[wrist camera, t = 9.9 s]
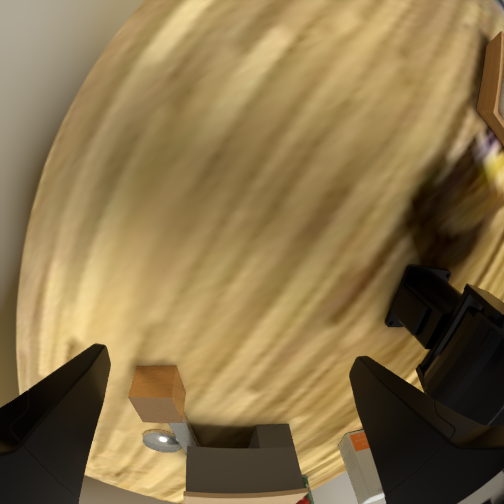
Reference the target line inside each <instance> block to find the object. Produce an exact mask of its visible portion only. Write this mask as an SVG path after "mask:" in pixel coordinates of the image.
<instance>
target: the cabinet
mask: <svg viewBox="0 0 504 504" xmlns="http://www.w3.org/2000/svg"><path fill="white" fill-rule="evenodd" d="M307 493H308V488H305V486H304V483H303V479H302V475H301V471H300V467H299V463H298V459H297V455H296V451H295V447H294V443H293V439H292V435H291V431H290V427H289V424H278V425H256V428H255V430H254V433H253V436H252V439H251V441H250V444H249V447H248V449H234V448H209V447H195V446H187V460H186V491H184V504H296V503H297V502H298V501H299V500H300V499H302V498H303V497H304V496H305V495H306V494H307Z"/></svg>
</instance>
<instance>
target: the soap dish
mask: <svg viewBox="0 0 504 504" xmlns="http://www.w3.org/2000/svg"><path fill="white" fill-rule="evenodd" d="M476 110H477V111H478V112H479V114H480V115H481V116H482V118H483V119H484V120H485V121H486V123H487V124H488V125H489V127H490V128H491V129H492V131H493V132H494V133H495V135H496V136H497V138H498V139H499V140H500V142H501V143H502V145H503V146H504V33H503V32H502V31H501V32H500V33H499V34H498V35H497V36H496V37H495V38H494V39H493V40H492V41H491V42H490V43H489V44H488V45H487V46H486V54H485V63H484V70H483V76H482V82H481V88H480V93H479V98H478V103H477V107H476Z"/></svg>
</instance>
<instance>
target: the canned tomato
mask: <svg viewBox="0 0 504 504" xmlns="http://www.w3.org/2000/svg"><path fill="white" fill-rule="evenodd" d="M302 479H303V483H304V486H305V488H308V493H307V494H306V495H305V496H304V497H303V498H302V499H300V500H299V501H298V502H297V503H296V504H314V501H313V498H312V494H311V490H310V487H309V483H308V480H307V479H308V478H307V477H306V476H304V475H302Z"/></svg>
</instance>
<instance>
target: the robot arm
mask: <svg viewBox="0 0 504 504" xmlns="http://www.w3.org/2000/svg"><path fill="white" fill-rule="evenodd" d="M411 269H412V270H411ZM410 270H411V271H410ZM450 276H451V272H450V271H449V270H447V269H440V268H433V267H426V266H419V265H412V264H411V265H408V266H407V268H406V270H405V273H404V276H403V279H402V281H401V284H400V287H399V289H398V292H397V294H396V297H395V299H394V302H393V304H392V307H391V309H390V311H389V314H388V316H387V318H386V321H385V324H386V325H387V326H388V327H405V328H406V329H407V330H408V331H409V332H410V333H411V335H413V336H414V337H415V338H416V339H417V340H418V341H419V342H420V344H421V345H422V346H423V347H424V348H425V349H428V350H429V352H428V353H427V355H426V356H425V358H424V359H423V361H422V362H421V363H420V364H419V365H418V366H417V368H416V372H417V374H418V377H419V380H420V382H421V385H422V388H423V390H424V393H423V392H422V391H420V390H419V389H417V388H416V387H414V386H413V385H411V384H409V383H408V382H406V381H405V380H403V379H402V378H400V377H399V376H397V375H396V374H394V373H393V372H391V371H389V370H388V369H386V368H385V367H383V366H382V365H380V364H379V363H377V362H376V361H374V360H373V359H371V358H370V357H368V356H359V357H357V358H356V359H355V361H354V364H353V366H352V368H351V370H350V374H349V377H350V382H351V386H352V391H353V395H354V399H355V404H356V408H357V411H358V415H359V417H360V420H361V423H362V426H363V429H364V432H365V435H366V438H367V441H368V444H369V447H370V450H371V454H372V457H373V460H374V463H375V466H376V469H377V473H378V476H379V479H380V483H381V486H382V489H383V493H384V495H385V496H384V497H385V500H386V504H504V303H503V302H502V301H501V300H499V299H498V298H496V297H495V296H493V295H492V294H491V293H489V292H487V291H485V290H482V289H480V288H477V287H475V286H472V285H470V284H466V286H465V288H464V292H463V294H462V293H460V292H459V291H458V290H456V289H455V288H454V287H453V286H451V285H450V284H449V283H448V281H449V278H450ZM390 321H391V322H390ZM110 367H111V363H110V358H109V354H108V350H107V347H106V346H105V345H103V344H97V343H95V344H93V345H92V346H90V347H89V348H87V349H86V350H84V351H83V352H82V353H80V354H79V355H77V356H76V357H74V358H73V359H71V360H70V361H69V362H67V363H66V364H64V365H63V366H61V367H60V368H58V369H57V370H56V371H54V372H53V373H51V374H50V375H48V376H47V377H46V378H44V379H43V380H41V381H40V382H38V383H37V384H36V385H34V386H33V387H31V388H30V389H29V391H28V390H27V391H25V392H24V393H23V394H21V395H20V396H18V397H17V398H15V399H14V400H12V401H11V402H9V403H7V404H6V405H4V406H2V407H1V408H0V504H79V497H80V492H81V487H82V482H83V478H84V473H85V469H86V464H87V460H88V456H89V452H90V448H91V444H92V441H93V437H94V433H95V430H96V426H97V423H98V419H99V416H100V413H101V410H102V406H103V402H104V397H105V392H106V387H107V382H108V377H109V372H110Z"/></svg>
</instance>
